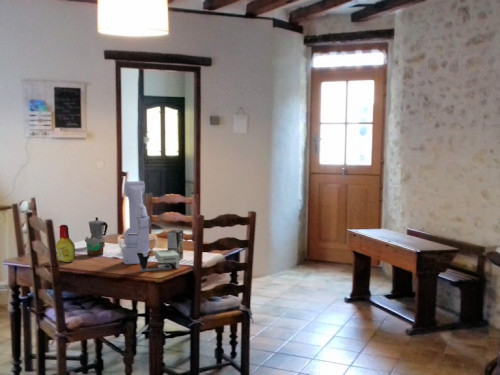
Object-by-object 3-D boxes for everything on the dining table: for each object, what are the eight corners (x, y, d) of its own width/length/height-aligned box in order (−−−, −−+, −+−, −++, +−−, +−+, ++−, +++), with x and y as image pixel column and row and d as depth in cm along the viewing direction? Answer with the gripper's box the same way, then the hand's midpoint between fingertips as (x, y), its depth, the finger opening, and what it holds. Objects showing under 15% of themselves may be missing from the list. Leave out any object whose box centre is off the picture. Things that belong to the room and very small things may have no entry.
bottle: (53, 261, 307) (52, 224, 305) (62, 259, 312) (61, 222, 310) (68, 263, 301) (68, 226, 299) (77, 261, 306) (77, 224, 304)
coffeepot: (83, 246, 346) (83, 217, 344) (95, 244, 354) (94, 215, 352) (101, 249, 338) (101, 219, 336) (113, 246, 346) (113, 217, 344)
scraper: (141, 272, 285) (141, 260, 285) (138, 267, 296) (138, 255, 295) (172, 269, 290) (171, 258, 290) (167, 264, 301) (167, 253, 300)
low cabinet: (160, 270, 290) (159, 256, 289) (155, 263, 304) (154, 250, 303) (179, 268, 293) (179, 255, 292) (173, 262, 307) (173, 249, 306)
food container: (80, 255, 321) (80, 238, 320) (87, 253, 327) (87, 236, 326) (98, 257, 317) (98, 239, 316) (105, 255, 322) (104, 238, 321)
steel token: (159, 268, 293) (159, 267, 293) (157, 266, 297) (157, 264, 297) (168, 268, 294) (168, 266, 294) (166, 266, 299) (166, 264, 299)
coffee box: (178, 262, 308) (178, 232, 307) (167, 261, 309) (167, 232, 308) (183, 258, 317) (183, 229, 316) (172, 257, 318) (172, 229, 317)
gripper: (153, 243, 280) (153, 270, 281) (148, 238, 293) (148, 263, 295) (139, 244, 277) (139, 271, 279) (135, 238, 291) (135, 264, 292)
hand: (143, 267), depth 286 cm, fingers closed on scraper, 2 cm apart
